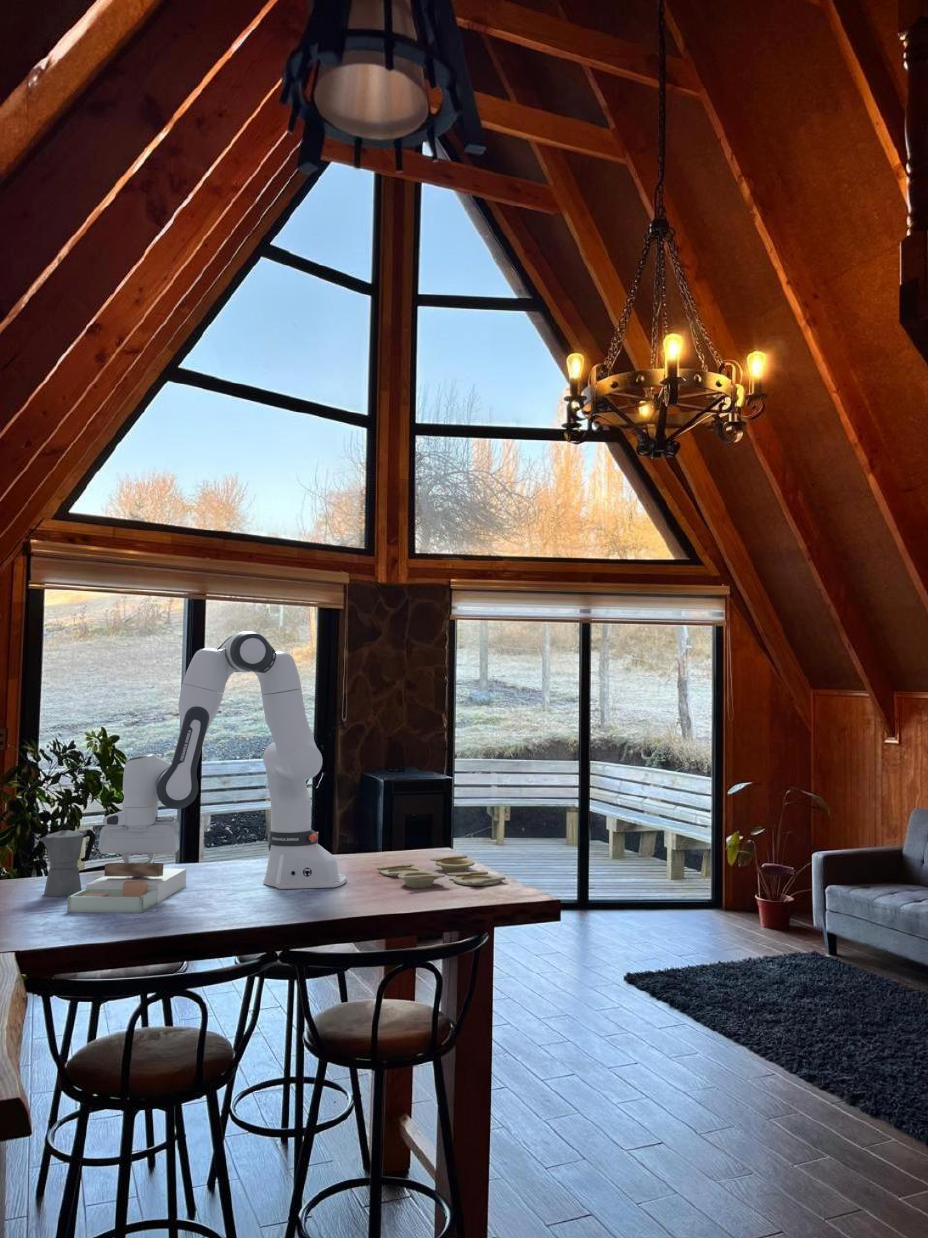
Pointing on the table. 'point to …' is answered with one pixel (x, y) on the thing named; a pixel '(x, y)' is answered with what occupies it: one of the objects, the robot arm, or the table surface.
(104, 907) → the box
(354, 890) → the table surface
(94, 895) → the tile
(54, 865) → the coffeepot
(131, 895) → the tile
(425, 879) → the tableware set
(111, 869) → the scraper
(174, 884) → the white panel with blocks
